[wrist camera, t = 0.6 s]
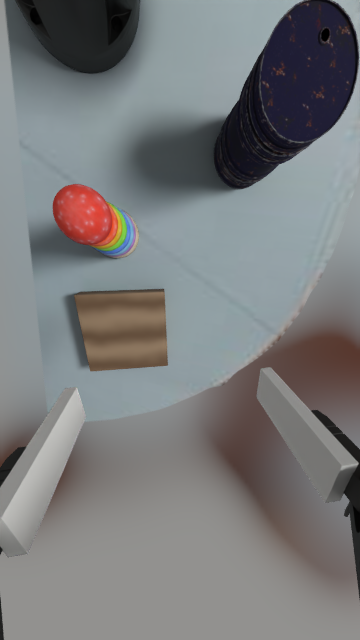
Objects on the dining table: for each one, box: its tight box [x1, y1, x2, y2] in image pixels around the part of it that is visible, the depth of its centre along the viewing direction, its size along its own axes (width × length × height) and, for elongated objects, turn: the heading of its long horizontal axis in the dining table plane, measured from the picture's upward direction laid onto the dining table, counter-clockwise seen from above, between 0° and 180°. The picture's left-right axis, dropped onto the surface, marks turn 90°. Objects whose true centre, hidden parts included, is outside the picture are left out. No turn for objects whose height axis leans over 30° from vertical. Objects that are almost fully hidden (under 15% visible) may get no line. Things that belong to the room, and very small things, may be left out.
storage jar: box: [214, 0, 359, 189], centre depth 24 cm, size 10×10×15 cm
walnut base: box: [74, 289, 168, 371], centre depth 38 cm, size 16×16×3 cm
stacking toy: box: [53, 184, 139, 258], centre depth 25 cm, size 8×8×19 cm
